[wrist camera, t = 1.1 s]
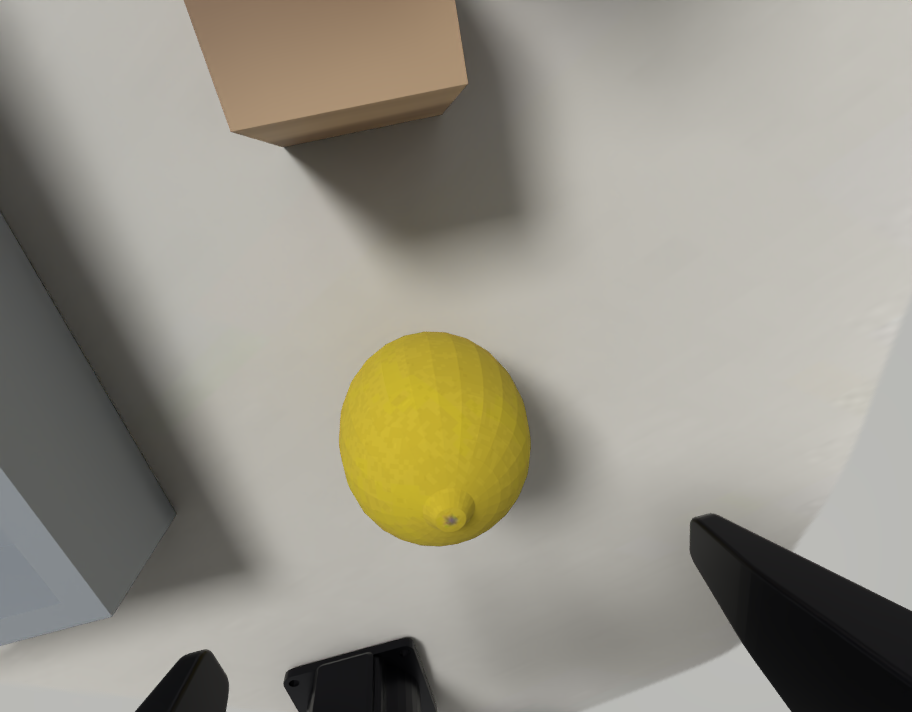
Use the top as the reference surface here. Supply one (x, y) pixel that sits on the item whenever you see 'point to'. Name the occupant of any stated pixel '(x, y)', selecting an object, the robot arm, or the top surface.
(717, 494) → the top surface
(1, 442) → the tote
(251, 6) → the walnut cube
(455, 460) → the lemon
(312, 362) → the top surface
